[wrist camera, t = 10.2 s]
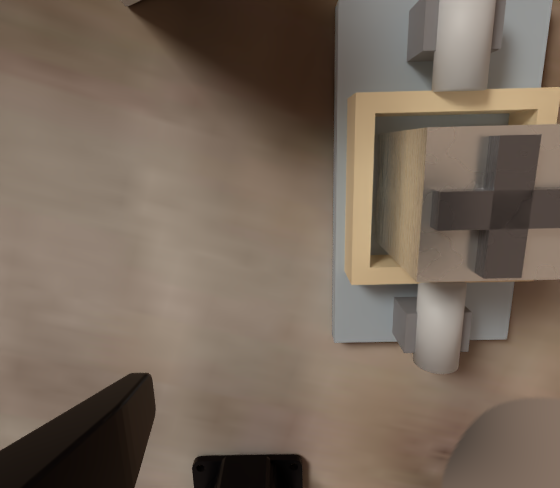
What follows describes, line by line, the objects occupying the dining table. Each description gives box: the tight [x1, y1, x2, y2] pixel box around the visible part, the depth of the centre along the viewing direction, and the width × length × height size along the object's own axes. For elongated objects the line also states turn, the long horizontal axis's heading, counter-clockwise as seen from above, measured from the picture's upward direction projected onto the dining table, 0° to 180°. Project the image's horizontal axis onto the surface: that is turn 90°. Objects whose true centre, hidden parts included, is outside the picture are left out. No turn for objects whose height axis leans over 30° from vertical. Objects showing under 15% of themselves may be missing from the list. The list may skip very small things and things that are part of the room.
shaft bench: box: [332, 0, 560, 374], centre depth 17 cm, size 16×9×4 cm, turn 1°
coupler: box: [375, 124, 560, 282], centre depth 15 cm, size 5×5×7 cm
